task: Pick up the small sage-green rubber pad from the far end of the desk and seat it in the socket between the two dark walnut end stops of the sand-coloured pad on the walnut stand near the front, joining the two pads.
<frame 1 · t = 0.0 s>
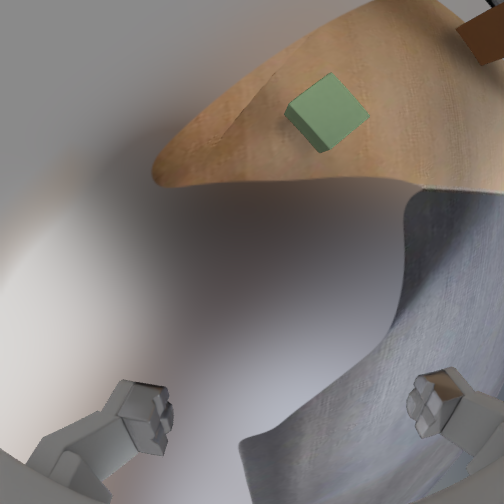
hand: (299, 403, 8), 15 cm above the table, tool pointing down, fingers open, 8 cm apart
green pad: (320, 118, 19), on the table
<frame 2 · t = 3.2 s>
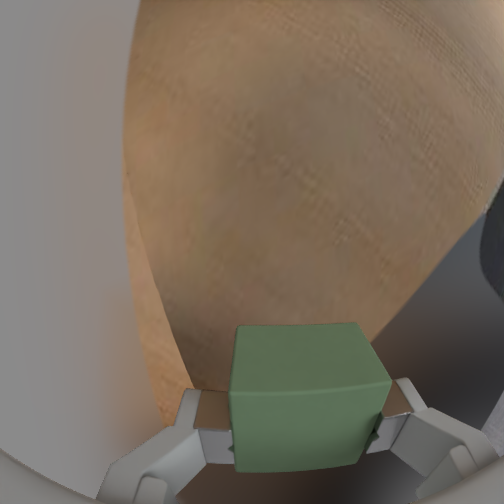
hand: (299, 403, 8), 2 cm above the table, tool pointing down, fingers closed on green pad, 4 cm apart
green pad: (294, 371, 9), on the table, touching gripper
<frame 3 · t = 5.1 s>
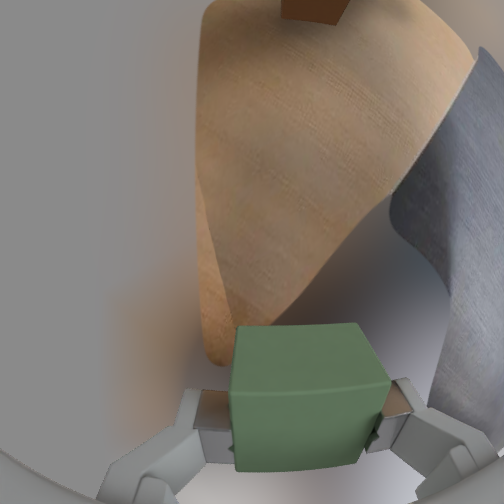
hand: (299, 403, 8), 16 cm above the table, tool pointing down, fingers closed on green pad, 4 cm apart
green pad: (294, 371, 9), point 14 cm above the table, touching gripper
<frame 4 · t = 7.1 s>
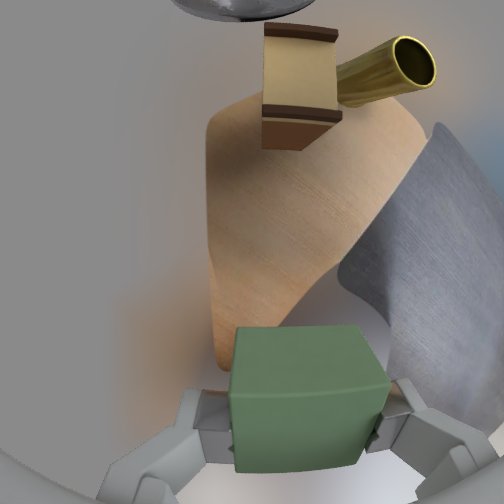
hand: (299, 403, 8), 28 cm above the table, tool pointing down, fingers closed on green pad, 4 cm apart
vase: (348, 86, 29), on the table
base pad: (298, 77, 16), on the table
green pad: (294, 372, 9), point 26 cm above the table, touching gripper
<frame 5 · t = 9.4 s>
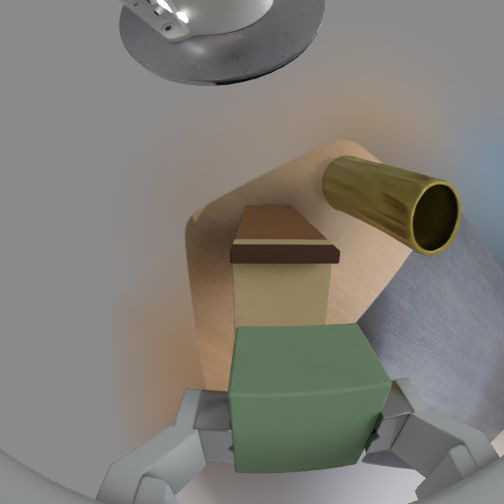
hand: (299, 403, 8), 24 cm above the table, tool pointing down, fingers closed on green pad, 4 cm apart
vase: (346, 183, 28), on the table
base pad: (279, 301, 15), on the table
green pad: (294, 371, 9), point 22 cm above the table, touching gripper
when the fingers open (19 cm above the table, at t = 10.9 s): green pad stays where it is, resting on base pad.
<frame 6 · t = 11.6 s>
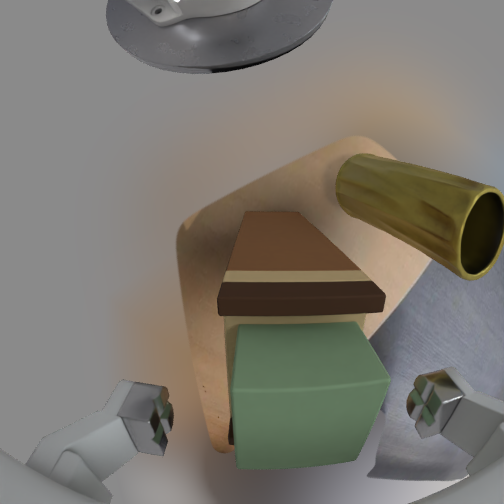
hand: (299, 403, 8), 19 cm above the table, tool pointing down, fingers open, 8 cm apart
vase: (363, 185, 24), on the table
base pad: (290, 352, 10), on the table
green pad: (295, 369, 9), point 17 cm above the table, touching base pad
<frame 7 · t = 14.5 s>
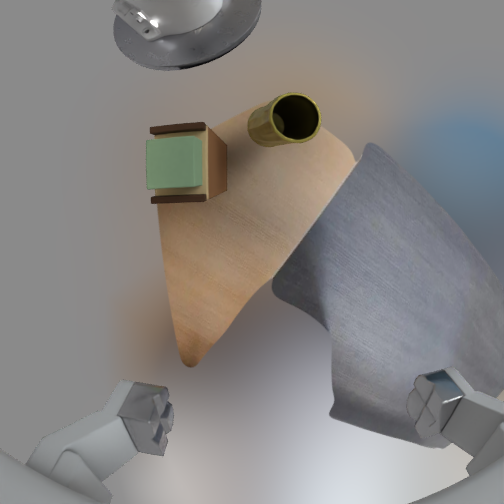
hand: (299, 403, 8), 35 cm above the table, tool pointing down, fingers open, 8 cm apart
vase: (268, 126, 37), on the table
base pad: (182, 163, 24), on the table
green pad: (180, 164, 23), point 17 cm above the table, touching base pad
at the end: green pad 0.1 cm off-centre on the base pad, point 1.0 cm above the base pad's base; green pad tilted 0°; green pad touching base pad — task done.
